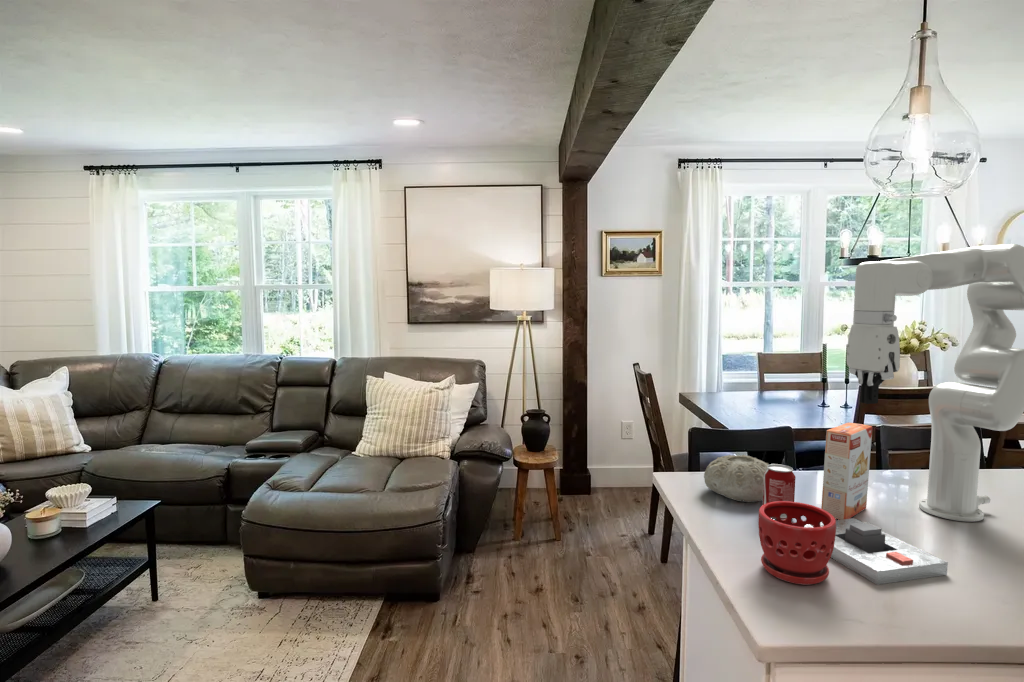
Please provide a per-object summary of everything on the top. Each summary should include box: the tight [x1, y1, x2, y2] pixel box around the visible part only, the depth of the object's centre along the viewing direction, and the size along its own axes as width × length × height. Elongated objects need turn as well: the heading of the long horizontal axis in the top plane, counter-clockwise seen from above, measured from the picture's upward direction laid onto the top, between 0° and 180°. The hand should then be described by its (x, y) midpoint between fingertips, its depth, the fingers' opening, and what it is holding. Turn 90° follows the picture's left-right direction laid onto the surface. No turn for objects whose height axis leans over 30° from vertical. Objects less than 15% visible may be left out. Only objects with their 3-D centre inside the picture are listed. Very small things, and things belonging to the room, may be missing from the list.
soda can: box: [762, 463, 796, 520], centre depth 139 cm, size 7×7×12 cm
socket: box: [804, 517, 949, 586], centre depth 120 cm, size 16×22×3 cm
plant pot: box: [757, 501, 837, 586], centre depth 111 cm, size 13×13×12 cm
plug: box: [845, 522, 885, 553], centre depth 120 cm, size 5×4×5 cm
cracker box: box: [820, 422, 873, 520], centre depth 142 cm, size 14×6×21 cm, turn 131°
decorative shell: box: [703, 454, 769, 503], centre depth 154 cm, size 18×18×10 cm
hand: (868, 402), depth 129 cm, fingers closed
